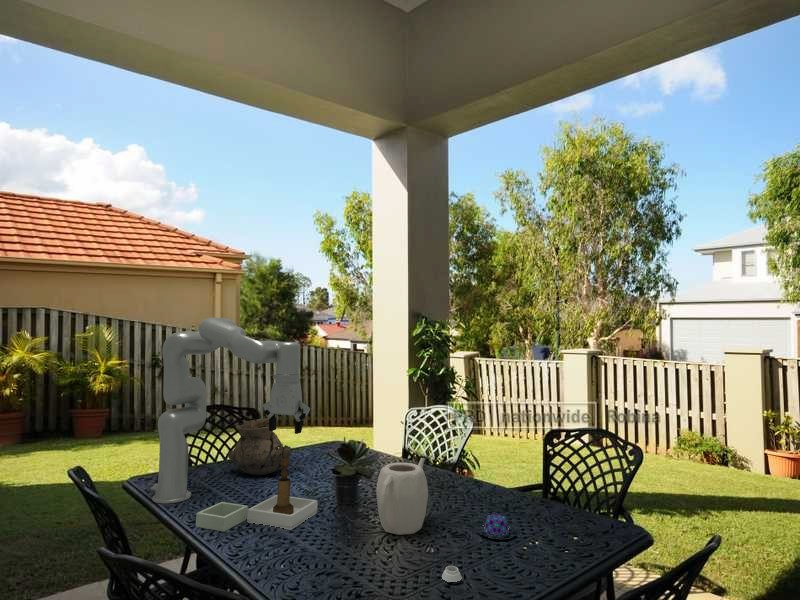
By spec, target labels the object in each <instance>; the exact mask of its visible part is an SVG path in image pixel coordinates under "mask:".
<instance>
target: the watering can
mask: <svg viewBox="0 0 800 600" xmlns="http://www.w3.org/2000/svg"><path fill="white" fill-rule="evenodd" d="M425 460H426V458H423V457H421V458H420V459H419V462H418V464H415V463H412V462H392V463H388V464H385V466H383V467H382V468H381V469H380V471H379V474H378V476H377V477H378V478H377V483H376V489H375V490H376V491H375V493H376V503H377V511H378V516H379V520H380V524H381V527H382V528H383V530H384V531H385V532H386V533H390V534H394V535H397V536H401V535H414V534H415V533H417V532H418V531H420V530H421V529H422V528H423V524H424V522H425V521H424V520H425V519H426V518H425V517H426V512H427V507H428V506H427V505H428V499H429V497H428V496H429V488H428V480H427V477H426V475H425V474H426V473H425V472H424V469H423V468H424V463H425Z"/></svg>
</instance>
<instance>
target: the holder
mask: <svg viewBox="0 0 800 600" xmlns="http://www.w3.org/2000/svg"><path fill="white" fill-rule="evenodd" d="M248 509H249V505H243V504H239V503H231V502H226V501H221V502H219V503H216V504H214V505H212V506H210V507H207V508H204V509H203V510H201V511H198V512H197V513H196V515H195V517H196V519H195V527H197V528H201V529H207V530H213V531H218V532H226V531H228V530H230V529H232V528H234V527H236V526H237V525H240V524H241V523H243V522H244V521H247V520H246V519H247V511H248Z"/></svg>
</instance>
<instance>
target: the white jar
mask: <svg viewBox="0 0 800 600" xmlns="http://www.w3.org/2000/svg"><path fill="white" fill-rule="evenodd" d="M441 577H442V579H443V580H445V581H447V582H457V581H460V580H461V579H462V580H463V577H462V574H461V572H460V571H459V568H458V567H457V566H454V565H448V566H446V567H445V569H444V571H443V573H442V575H441ZM442 579H441V580H442Z"/></svg>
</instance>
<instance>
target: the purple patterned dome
mask: <svg viewBox="0 0 800 600" xmlns="http://www.w3.org/2000/svg"><path fill="white" fill-rule="evenodd" d="M484 523H485V524H484V525H485V527H484V531H485V532H487V533H489V534H494V535H500V534H507V532H509V528H510V527H509V524H508V520H507V518H506V517H505V516H504V515H501V514H495V513H492V514H489V515H487V517H486V520H485V522H484ZM508 527H509V528H508Z"/></svg>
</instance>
